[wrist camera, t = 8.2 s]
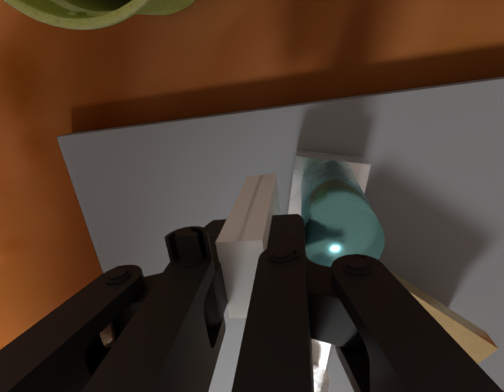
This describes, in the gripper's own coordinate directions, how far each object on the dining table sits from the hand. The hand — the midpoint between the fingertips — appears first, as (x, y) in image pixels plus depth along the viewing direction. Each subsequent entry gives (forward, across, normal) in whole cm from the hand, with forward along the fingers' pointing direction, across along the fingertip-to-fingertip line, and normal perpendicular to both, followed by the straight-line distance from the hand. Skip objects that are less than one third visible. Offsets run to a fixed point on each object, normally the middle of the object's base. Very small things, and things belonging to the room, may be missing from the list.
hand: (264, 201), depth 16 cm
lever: (+4, -2, +8) cm, 10 cm away
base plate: (+7, -1, +9) cm, 11 cm away
